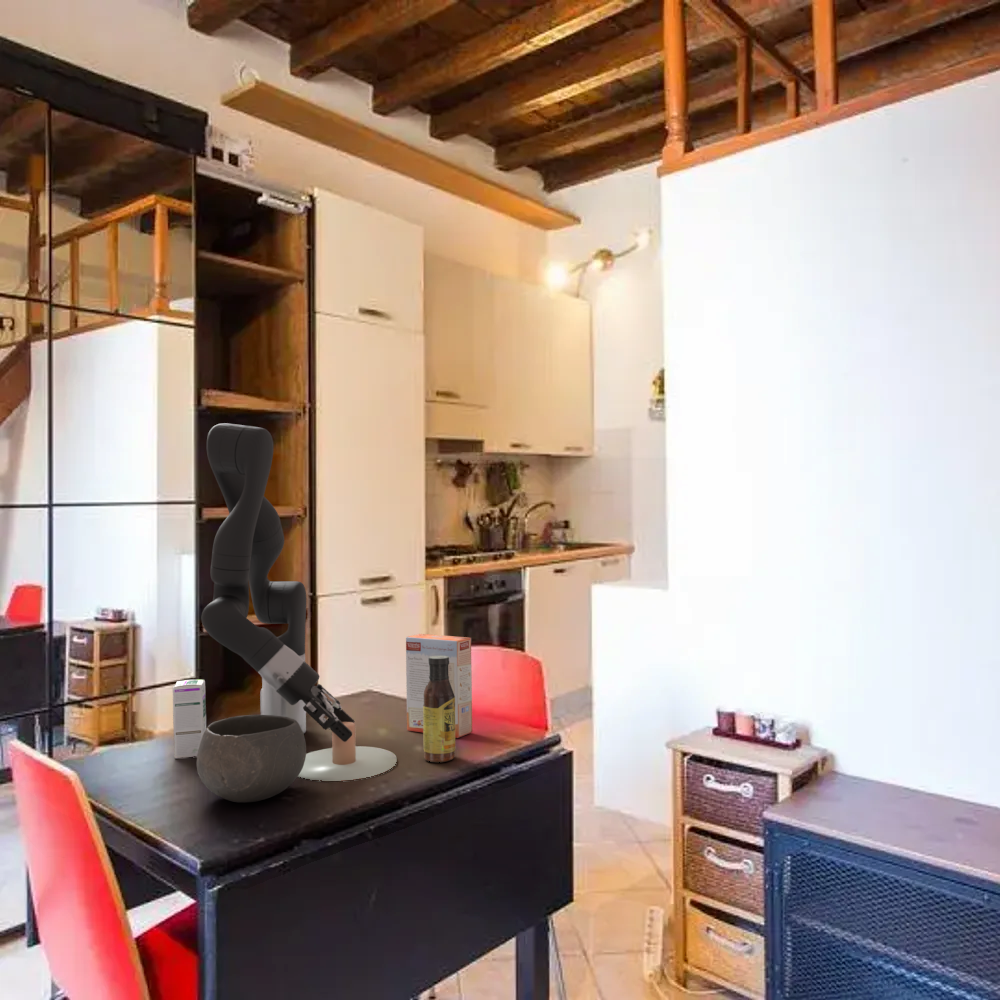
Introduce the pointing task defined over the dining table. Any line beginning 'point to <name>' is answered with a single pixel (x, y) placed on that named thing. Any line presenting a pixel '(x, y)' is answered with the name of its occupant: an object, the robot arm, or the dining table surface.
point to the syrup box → (188, 716)
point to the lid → (346, 760)
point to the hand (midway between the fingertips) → (350, 731)
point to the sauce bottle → (439, 713)
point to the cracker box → (458, 674)
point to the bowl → (251, 756)
